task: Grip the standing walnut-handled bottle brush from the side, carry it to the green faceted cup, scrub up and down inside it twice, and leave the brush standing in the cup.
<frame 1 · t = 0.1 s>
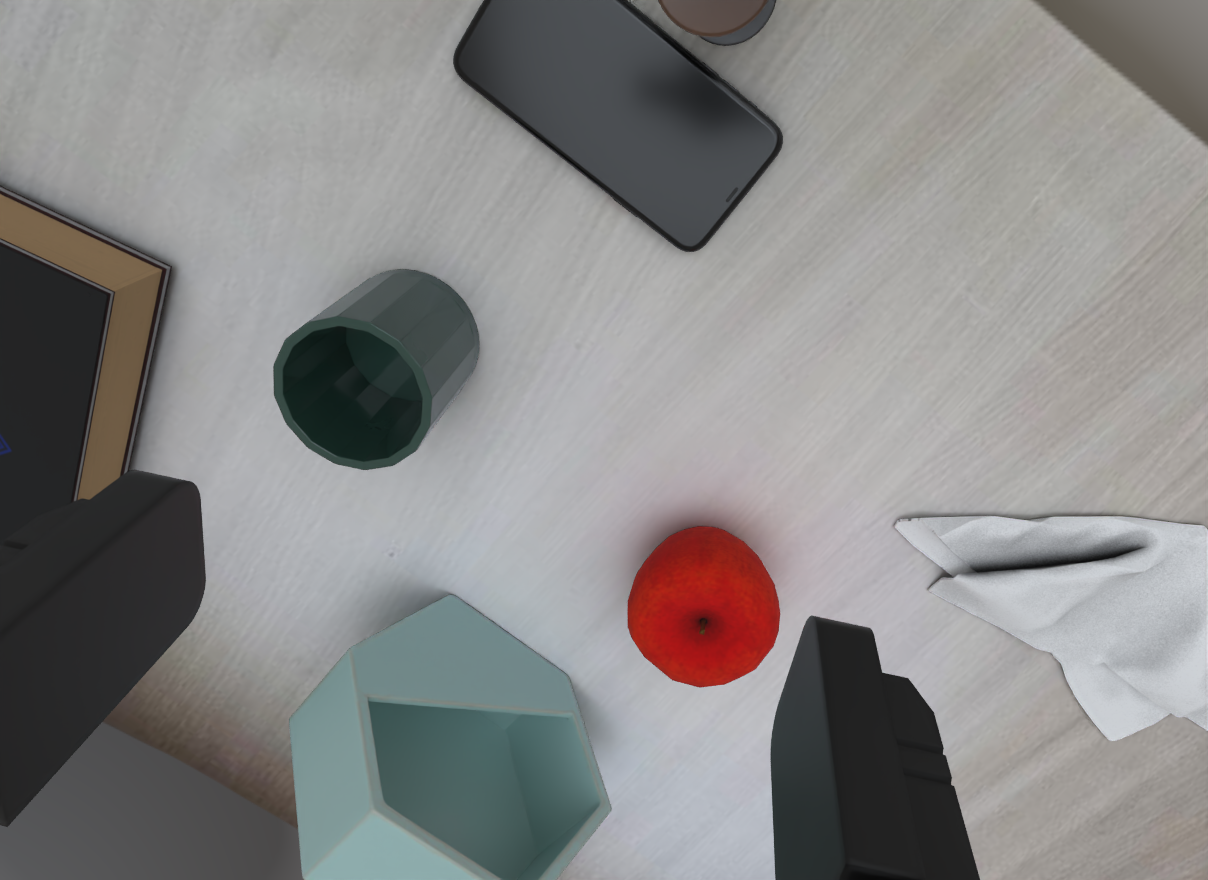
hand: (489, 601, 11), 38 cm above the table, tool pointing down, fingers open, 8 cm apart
green faceted cup: (412, 337, 52), on the table
apple: (706, 557, 56), on the table
book: (20, 373, 57), on the table
cloth: (1105, 599, 53), on the table
planter: (488, 668, 62), on the table
smartphone: (618, 100, 44), on the table
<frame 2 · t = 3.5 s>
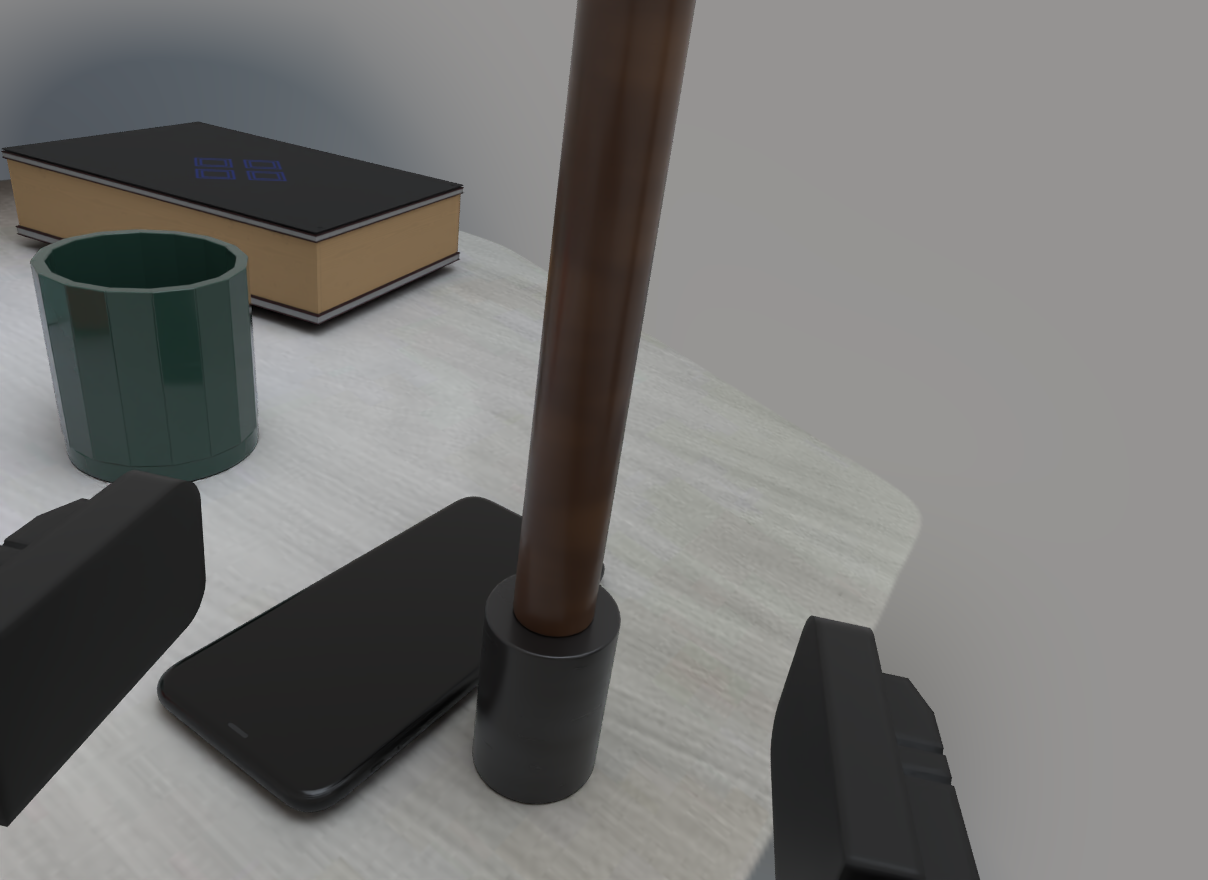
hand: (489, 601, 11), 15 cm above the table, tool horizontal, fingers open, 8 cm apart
green faceted cup: (166, 439, 42), on the table
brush: (534, 752, 29), on the table
book: (253, 260, 65), on the table
smartphone: (410, 633, 33), on the table
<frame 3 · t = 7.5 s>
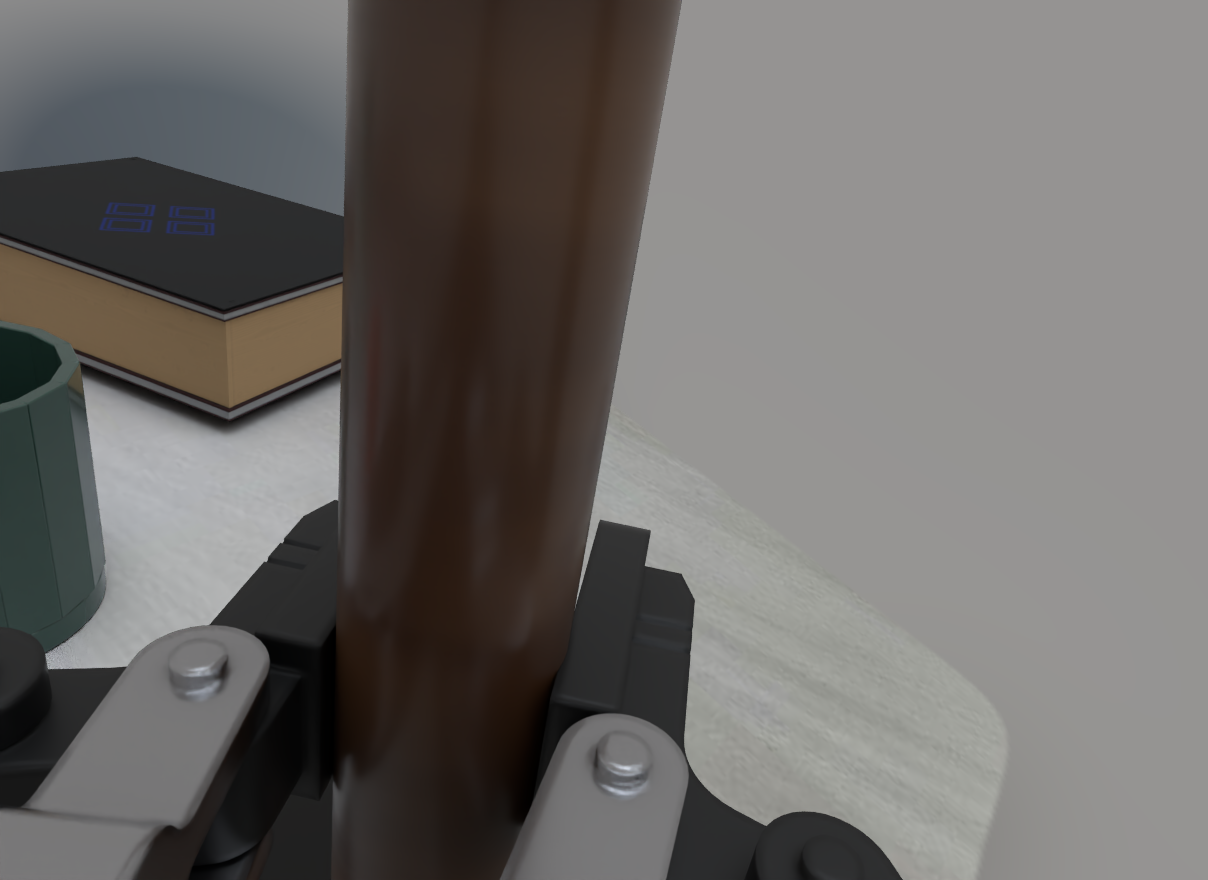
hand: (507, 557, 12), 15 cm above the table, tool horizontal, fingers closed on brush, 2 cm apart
book: (179, 326, 54), on the table
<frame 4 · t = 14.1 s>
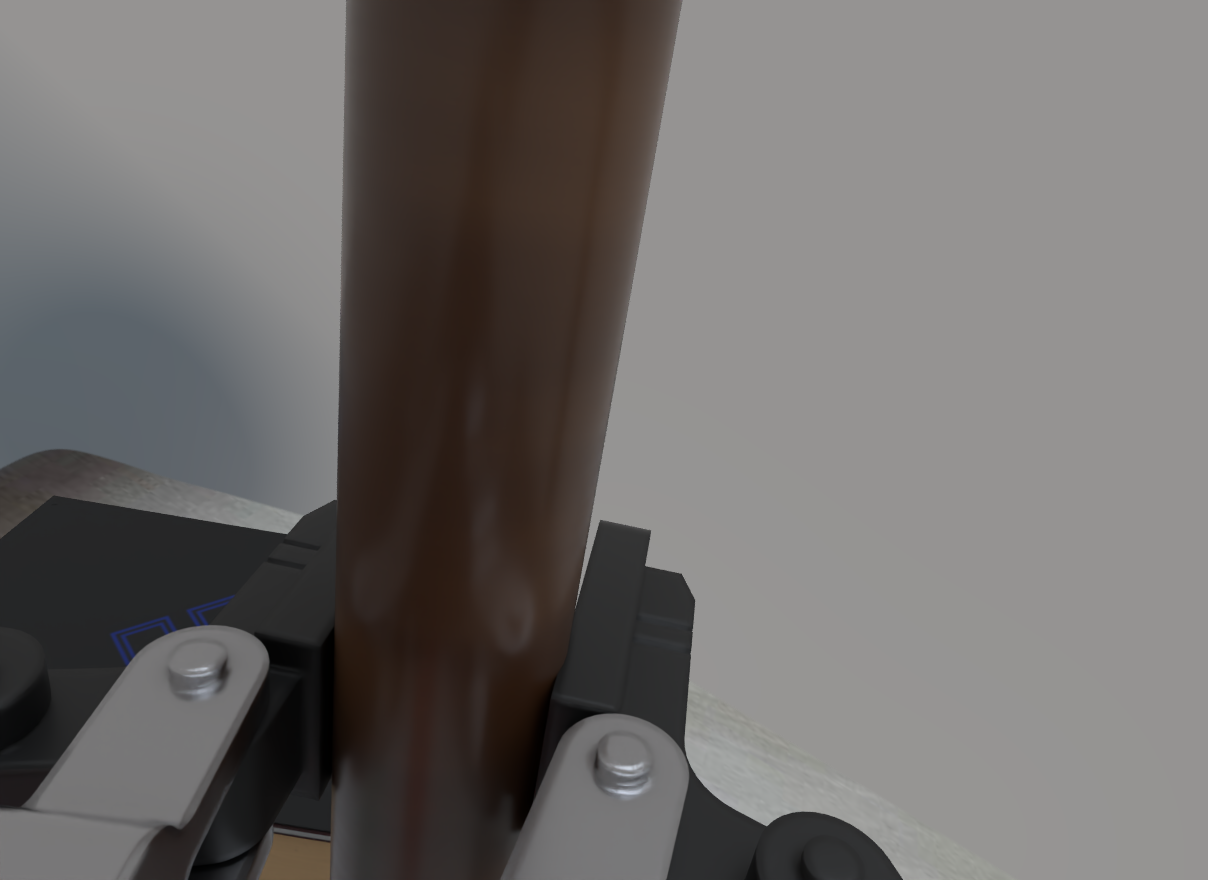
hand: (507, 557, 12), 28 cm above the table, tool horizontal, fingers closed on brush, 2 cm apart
book: (215, 745, 43), on the table
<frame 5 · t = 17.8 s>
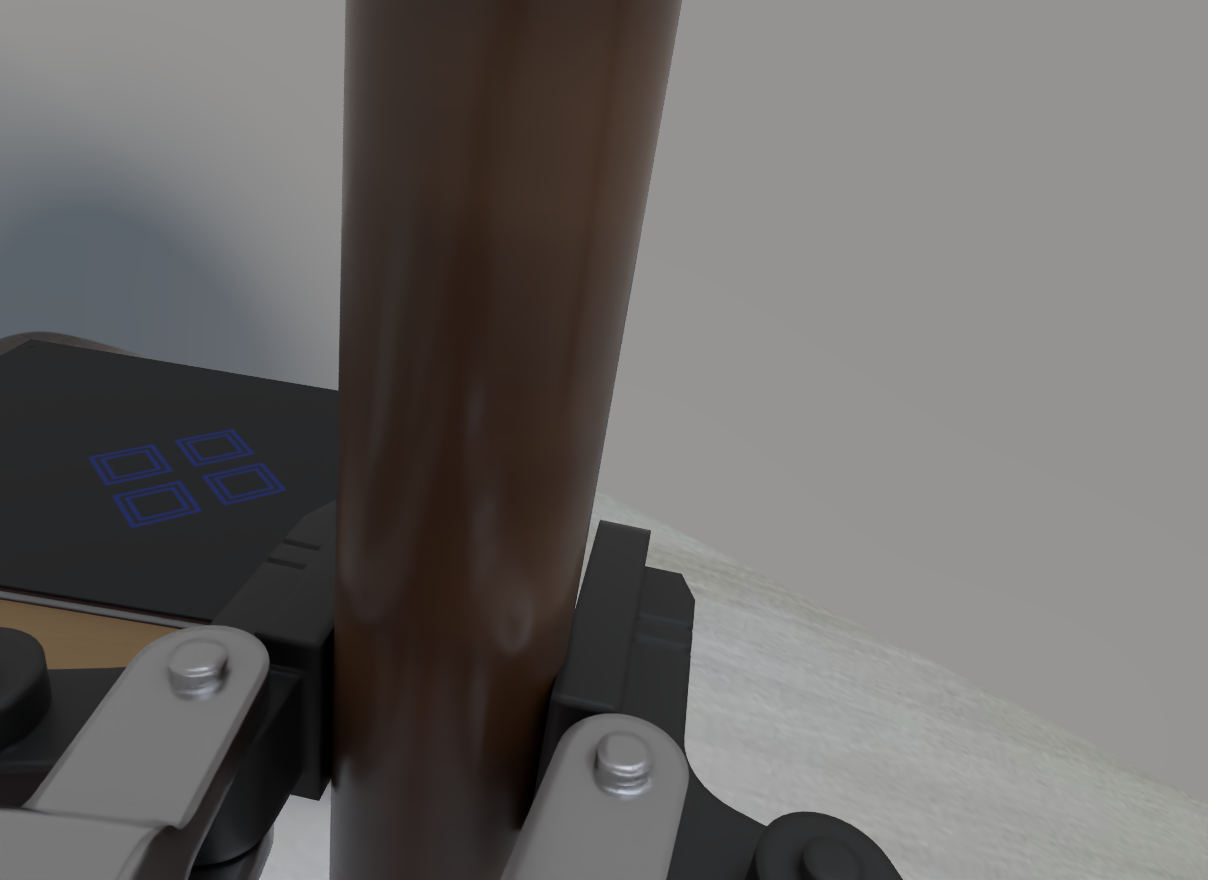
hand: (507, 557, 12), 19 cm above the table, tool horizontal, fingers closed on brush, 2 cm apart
book: (206, 597, 39), on the table
when the fingers open (16 cm above the table, at t = 20.7 s): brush stays where it is, resting on green faceted cup.
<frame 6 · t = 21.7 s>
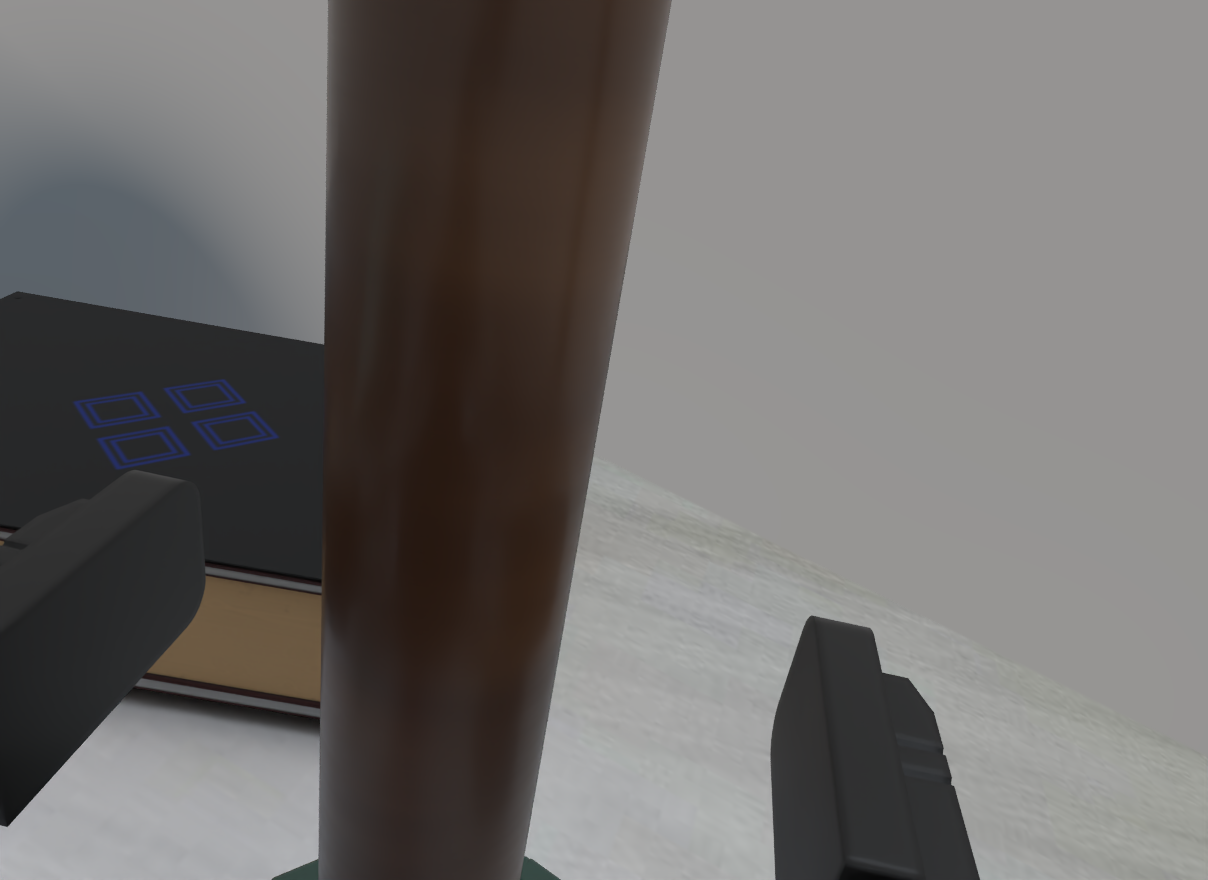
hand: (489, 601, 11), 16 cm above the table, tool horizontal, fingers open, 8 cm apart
book: (196, 554, 37), on the table
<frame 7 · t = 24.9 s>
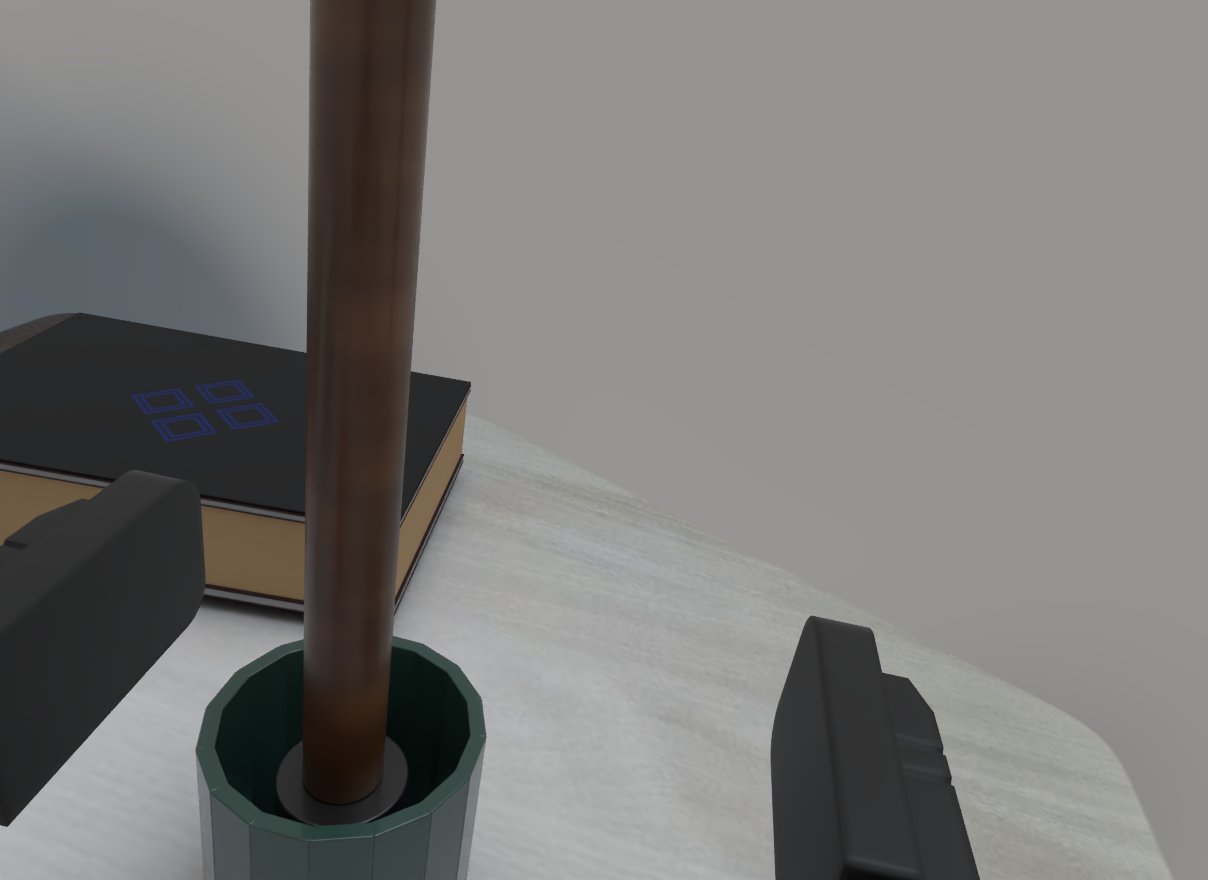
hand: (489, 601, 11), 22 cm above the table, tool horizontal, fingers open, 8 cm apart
book: (216, 509, 50), on the table
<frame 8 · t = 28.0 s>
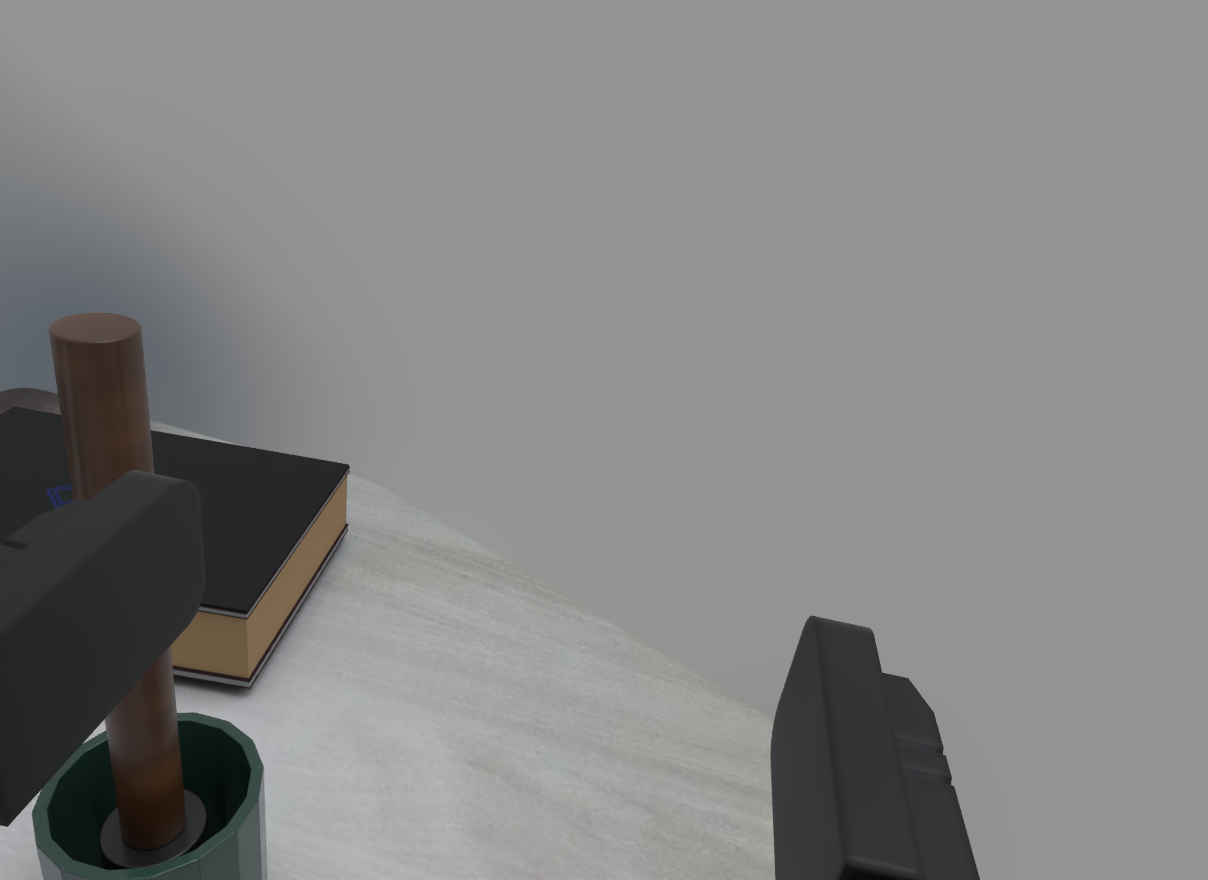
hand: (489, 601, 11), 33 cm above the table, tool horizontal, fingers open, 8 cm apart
book: (124, 579, 60), on the table
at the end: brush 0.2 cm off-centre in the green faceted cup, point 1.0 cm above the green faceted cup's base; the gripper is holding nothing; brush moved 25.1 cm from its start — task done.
